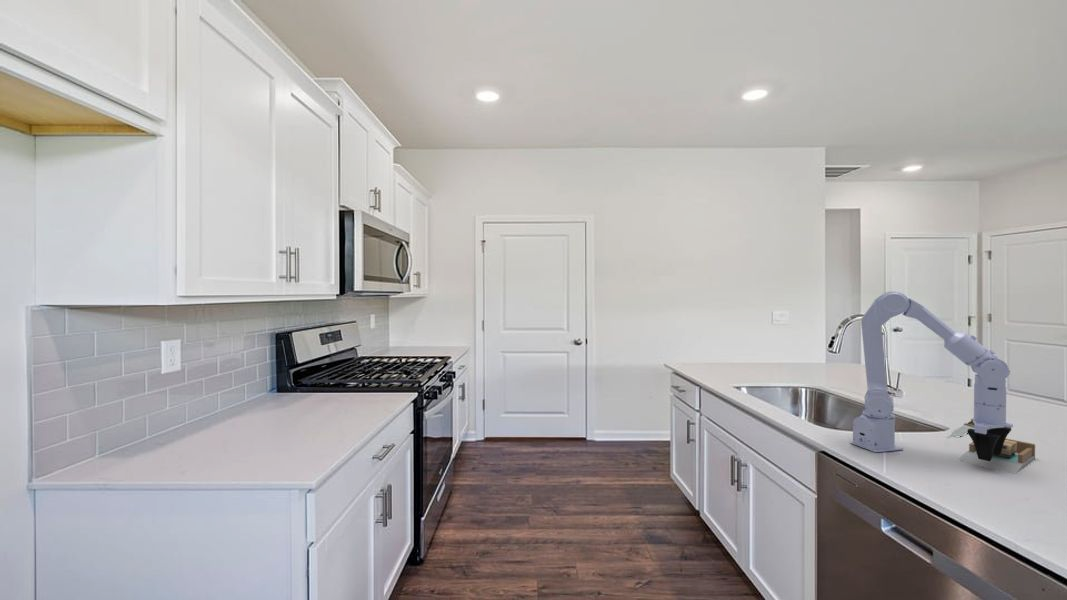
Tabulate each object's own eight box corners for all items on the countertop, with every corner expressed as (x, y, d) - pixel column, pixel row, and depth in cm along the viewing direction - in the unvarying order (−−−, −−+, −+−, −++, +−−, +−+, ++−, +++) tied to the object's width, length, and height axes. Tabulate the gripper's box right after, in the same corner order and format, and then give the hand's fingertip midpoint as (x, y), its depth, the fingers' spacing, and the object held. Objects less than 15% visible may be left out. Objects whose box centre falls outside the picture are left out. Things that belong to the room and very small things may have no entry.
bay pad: (1015, 462, 112) (1015, 462, 112) (974, 453, 118) (974, 453, 118) (1023, 456, 115) (1023, 456, 115) (982, 448, 122) (982, 447, 122)
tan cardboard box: (1009, 460, 113) (1009, 446, 113) (981, 453, 117) (981, 441, 117) (1016, 455, 116) (1016, 442, 116) (989, 449, 121) (989, 436, 121)
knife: (963, 440, 130) (941, 433, 134) (962, 445, 130) (940, 438, 134) (993, 422, 144) (972, 417, 148) (992, 427, 144) (971, 421, 148)
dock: (1015, 477, 107) (1015, 458, 107) (957, 463, 116) (957, 445, 116) (1035, 461, 116) (1035, 444, 116) (980, 449, 125) (980, 433, 125)
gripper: (1003, 411, 105) (1002, 468, 106) (1020, 402, 113) (1020, 455, 113) (963, 405, 111) (963, 458, 112) (982, 397, 119) (982, 447, 119)
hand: (989, 456), depth 113 cm, fingers open, 7 cm apart
